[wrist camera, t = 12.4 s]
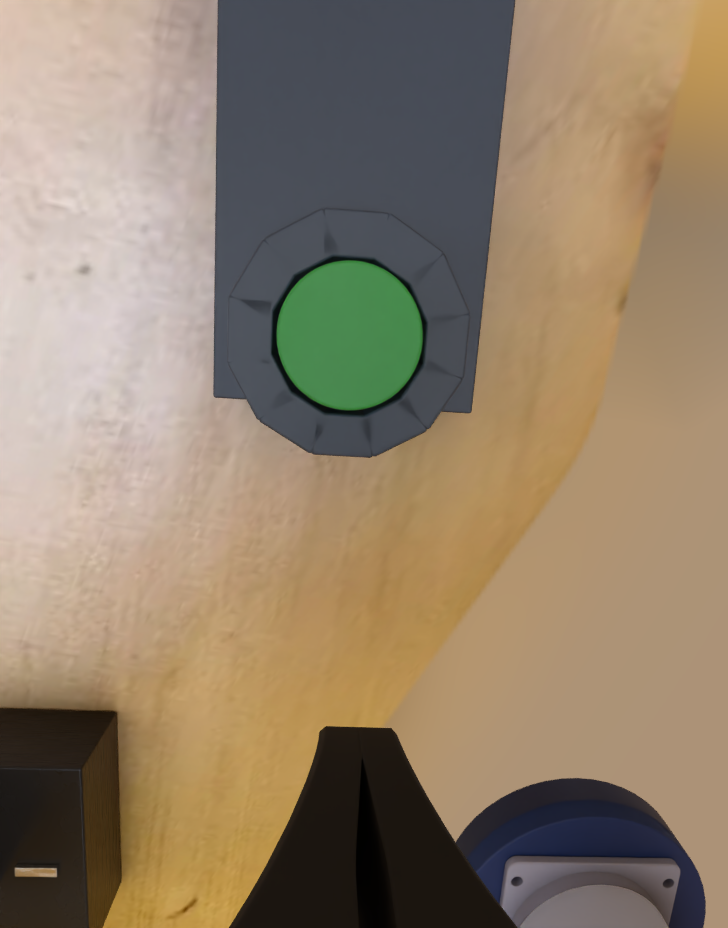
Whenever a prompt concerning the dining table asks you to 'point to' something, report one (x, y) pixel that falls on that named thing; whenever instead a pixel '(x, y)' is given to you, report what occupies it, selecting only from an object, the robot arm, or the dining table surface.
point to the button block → (355, 190)
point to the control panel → (58, 818)
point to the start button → (349, 335)
